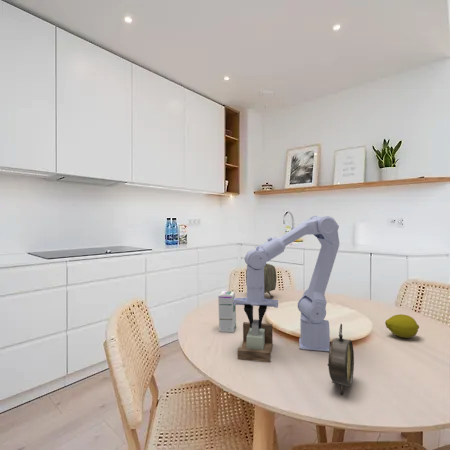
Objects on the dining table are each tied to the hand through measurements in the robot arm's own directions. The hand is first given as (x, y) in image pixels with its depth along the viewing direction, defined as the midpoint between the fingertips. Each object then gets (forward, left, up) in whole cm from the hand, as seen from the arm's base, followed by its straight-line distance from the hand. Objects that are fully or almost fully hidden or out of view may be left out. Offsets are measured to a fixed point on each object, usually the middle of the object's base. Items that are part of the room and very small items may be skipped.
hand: (255, 327), depth 96 cm
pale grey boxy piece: (0, 0, -7) cm, 7 cm away
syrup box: (+13, -15, -8) cm, 21 cm away
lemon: (-50, -20, -8) cm, 54 cm away
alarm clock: (-24, +15, -8) cm, 30 cm away
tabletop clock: (+5, -60, -8) cm, 60 cm away
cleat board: (0, +1, -8) cm, 8 cm away
